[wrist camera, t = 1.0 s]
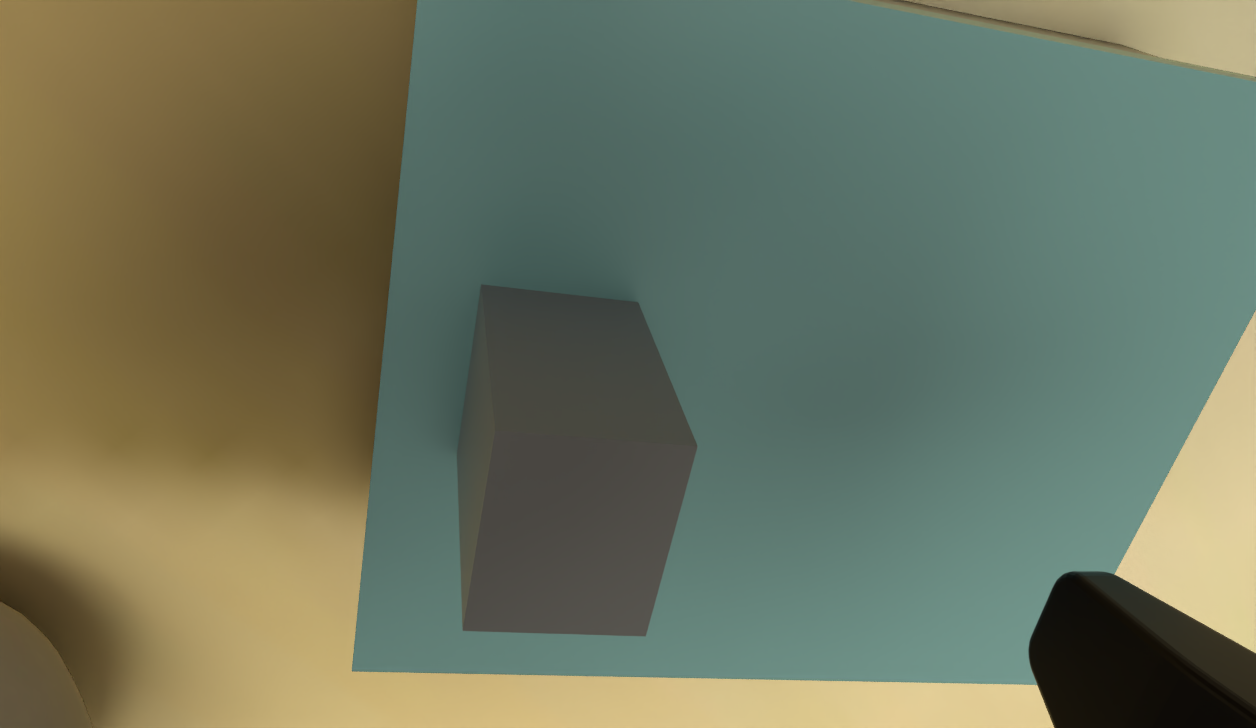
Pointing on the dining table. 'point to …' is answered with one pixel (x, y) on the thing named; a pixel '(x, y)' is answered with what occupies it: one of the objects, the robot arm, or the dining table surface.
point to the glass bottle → (35, 679)
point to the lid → (784, 335)
